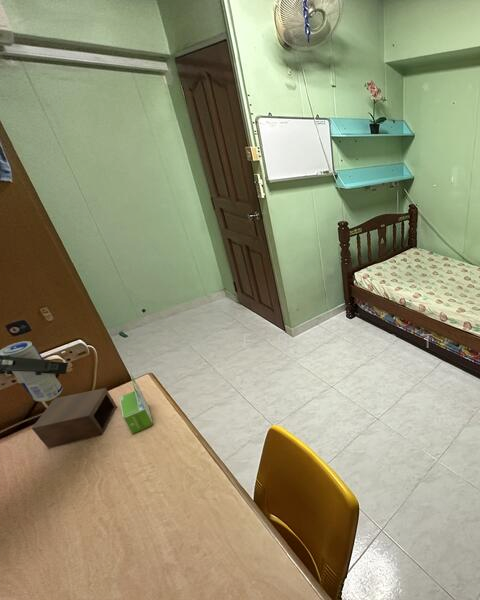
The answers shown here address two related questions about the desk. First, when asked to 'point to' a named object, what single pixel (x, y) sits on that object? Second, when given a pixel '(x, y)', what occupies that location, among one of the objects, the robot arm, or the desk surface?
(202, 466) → the desk surface
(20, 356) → the beverage can
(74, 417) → the walnut shelf
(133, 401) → the ink box
